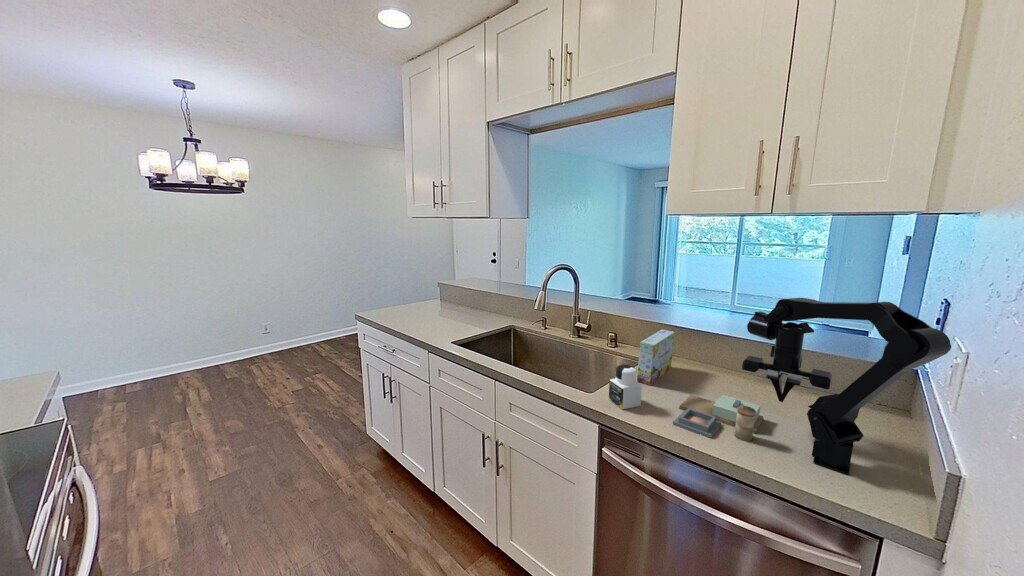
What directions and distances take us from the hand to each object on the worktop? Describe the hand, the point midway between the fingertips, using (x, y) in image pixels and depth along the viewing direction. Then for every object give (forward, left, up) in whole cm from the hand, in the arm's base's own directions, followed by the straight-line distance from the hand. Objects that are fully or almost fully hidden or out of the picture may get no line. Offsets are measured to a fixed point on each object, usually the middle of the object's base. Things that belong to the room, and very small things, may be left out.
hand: (781, 401), depth 101 cm
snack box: (+40, -15, -9) cm, 44 cm away
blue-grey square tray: (+17, +11, -9) cm, 22 cm away
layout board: (+14, 0, -9) cm, 17 cm away
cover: (+10, 0, -8) cm, 13 cm away
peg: (+6, +9, -9) cm, 14 cm away
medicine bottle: (+38, +13, -9) cm, 41 cm away
